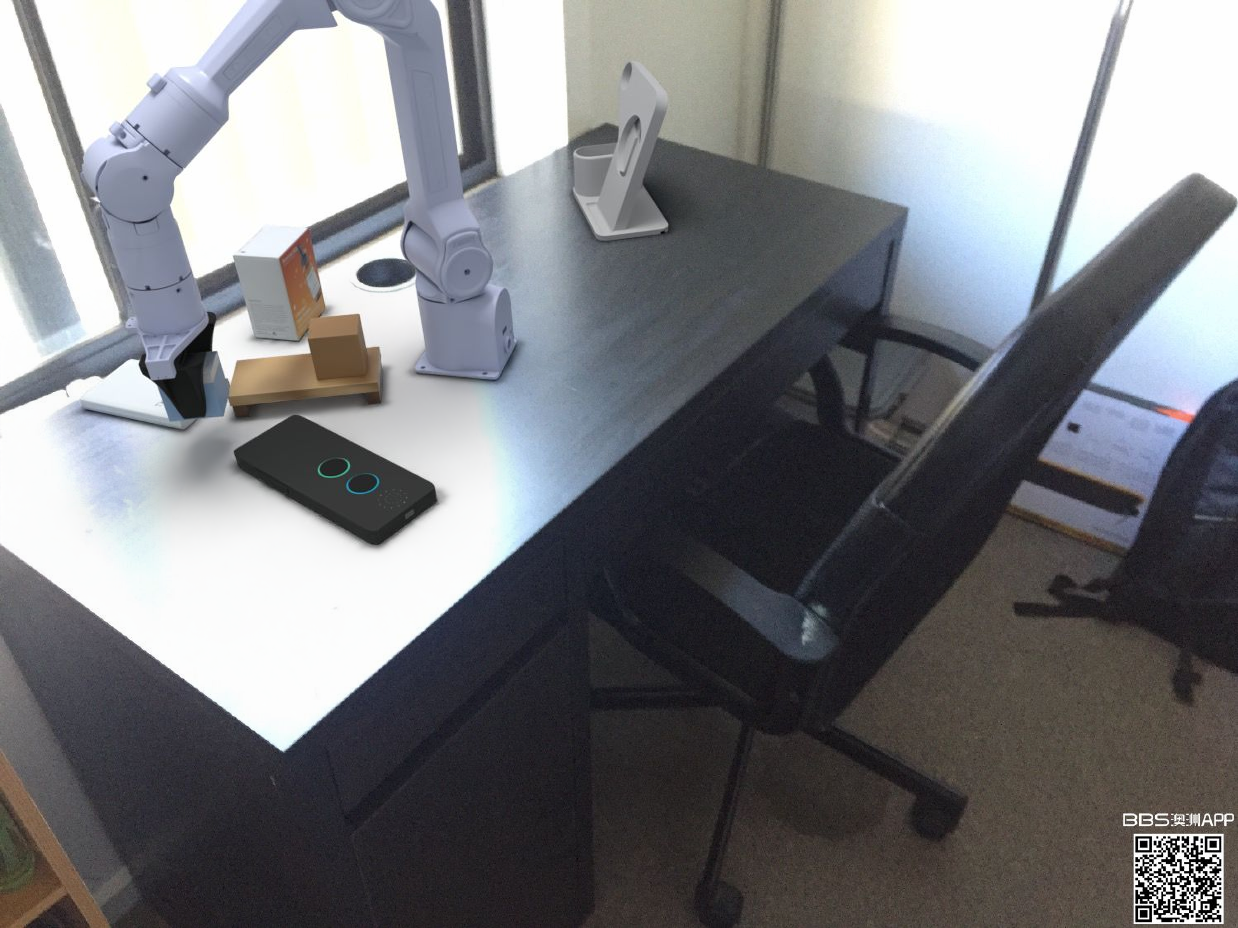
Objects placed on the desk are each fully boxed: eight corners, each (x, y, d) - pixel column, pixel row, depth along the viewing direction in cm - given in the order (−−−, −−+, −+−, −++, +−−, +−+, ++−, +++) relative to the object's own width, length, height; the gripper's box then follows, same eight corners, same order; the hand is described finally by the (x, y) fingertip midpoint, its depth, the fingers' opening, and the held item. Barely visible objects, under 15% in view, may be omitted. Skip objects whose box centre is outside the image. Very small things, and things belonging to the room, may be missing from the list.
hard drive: (135, 369, 116) (231, 388, 113) (83, 410, 110) (183, 431, 107) (131, 357, 115) (227, 375, 112) (78, 398, 109) (178, 418, 106)
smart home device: (371, 533, 91) (228, 451, 101) (375, 547, 92) (232, 466, 102) (439, 483, 96) (296, 410, 106) (441, 498, 97) (300, 424, 107)
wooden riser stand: (383, 368, 115) (379, 346, 113) (382, 404, 110) (377, 381, 108) (242, 382, 114) (236, 360, 112) (234, 419, 108) (227, 396, 106)
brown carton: (367, 354, 112) (359, 313, 109) (366, 375, 109) (357, 334, 106) (319, 358, 112) (310, 317, 109) (317, 380, 108) (307, 338, 105)
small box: (298, 342, 120) (278, 258, 113) (253, 338, 121) (230, 255, 114) (327, 308, 126) (310, 226, 119) (284, 304, 127) (264, 223, 120)
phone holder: (570, 189, 151) (564, 61, 140) (639, 181, 153) (637, 54, 142) (597, 242, 138) (593, 105, 127) (672, 232, 140) (673, 96, 129)
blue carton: (229, 392, 104) (217, 350, 101) (223, 416, 100) (210, 374, 97) (177, 397, 103) (163, 355, 100) (169, 422, 100) (154, 379, 97)
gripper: (128, 242, 98) (169, 365, 107) (90, 320, 87) (140, 451, 95) (206, 236, 99) (241, 358, 107) (179, 312, 88) (220, 442, 96)
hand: (198, 401), depth 101 cm, fingers closed on blue carton, 4 cm apart
